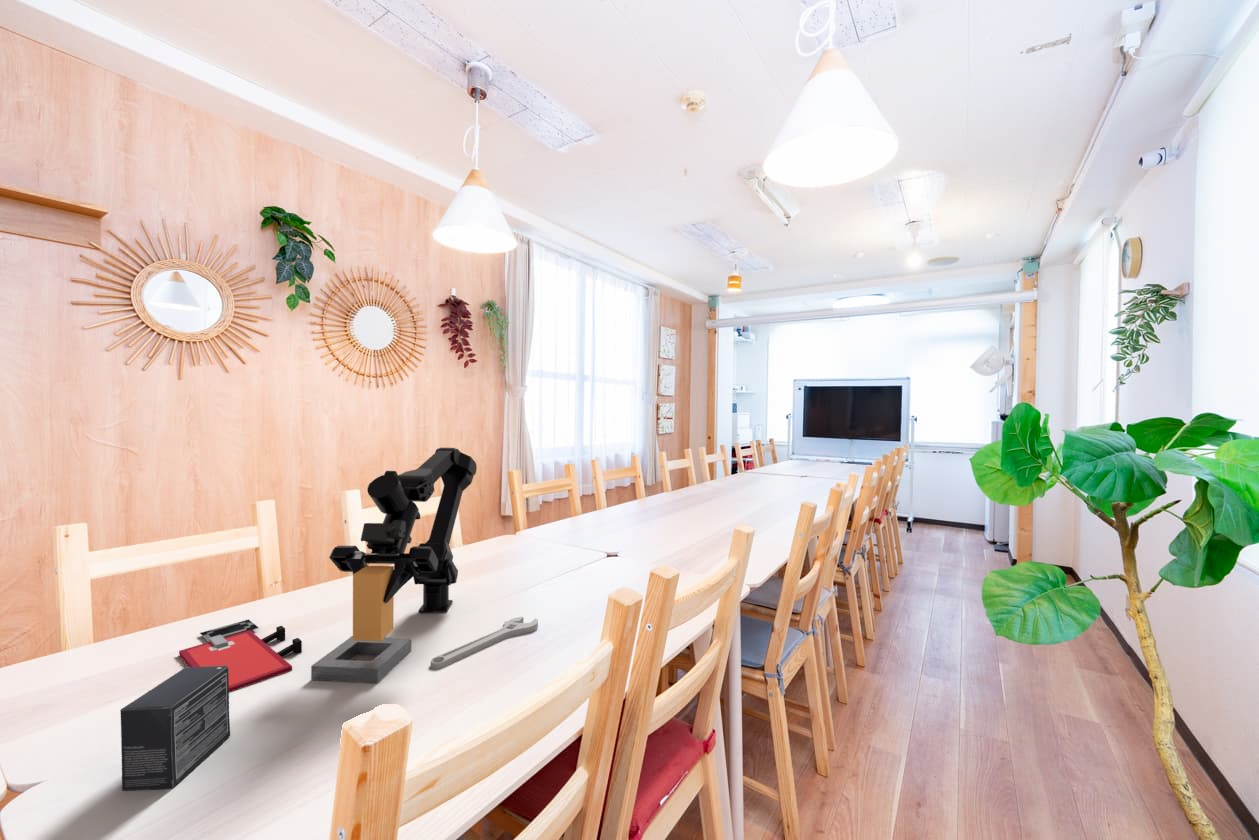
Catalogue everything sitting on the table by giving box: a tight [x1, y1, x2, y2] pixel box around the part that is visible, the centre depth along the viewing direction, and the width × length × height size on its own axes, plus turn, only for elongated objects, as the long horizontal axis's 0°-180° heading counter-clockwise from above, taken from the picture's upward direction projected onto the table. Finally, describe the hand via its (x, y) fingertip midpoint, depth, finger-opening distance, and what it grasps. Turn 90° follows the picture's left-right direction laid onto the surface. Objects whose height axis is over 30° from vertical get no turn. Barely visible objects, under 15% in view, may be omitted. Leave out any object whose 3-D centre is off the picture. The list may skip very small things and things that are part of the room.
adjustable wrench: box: [430, 616, 539, 669], centre depth 105 cm, size 25×6×2 cm, turn 140°
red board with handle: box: [178, 619, 303, 693], centre depth 99 cm, size 30×3×15 cm
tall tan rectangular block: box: [352, 565, 395, 641], centre depth 94 cm, size 5×5×12 cm
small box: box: [119, 666, 231, 792], centre depth 68 cm, size 11×6×10 cm, turn 5°
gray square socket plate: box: [310, 635, 413, 684], centre depth 95 cm, size 12×12×2 cm
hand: (370, 601), depth 93 cm, fingers closed on tall tan rectangular block, 5 cm apart
